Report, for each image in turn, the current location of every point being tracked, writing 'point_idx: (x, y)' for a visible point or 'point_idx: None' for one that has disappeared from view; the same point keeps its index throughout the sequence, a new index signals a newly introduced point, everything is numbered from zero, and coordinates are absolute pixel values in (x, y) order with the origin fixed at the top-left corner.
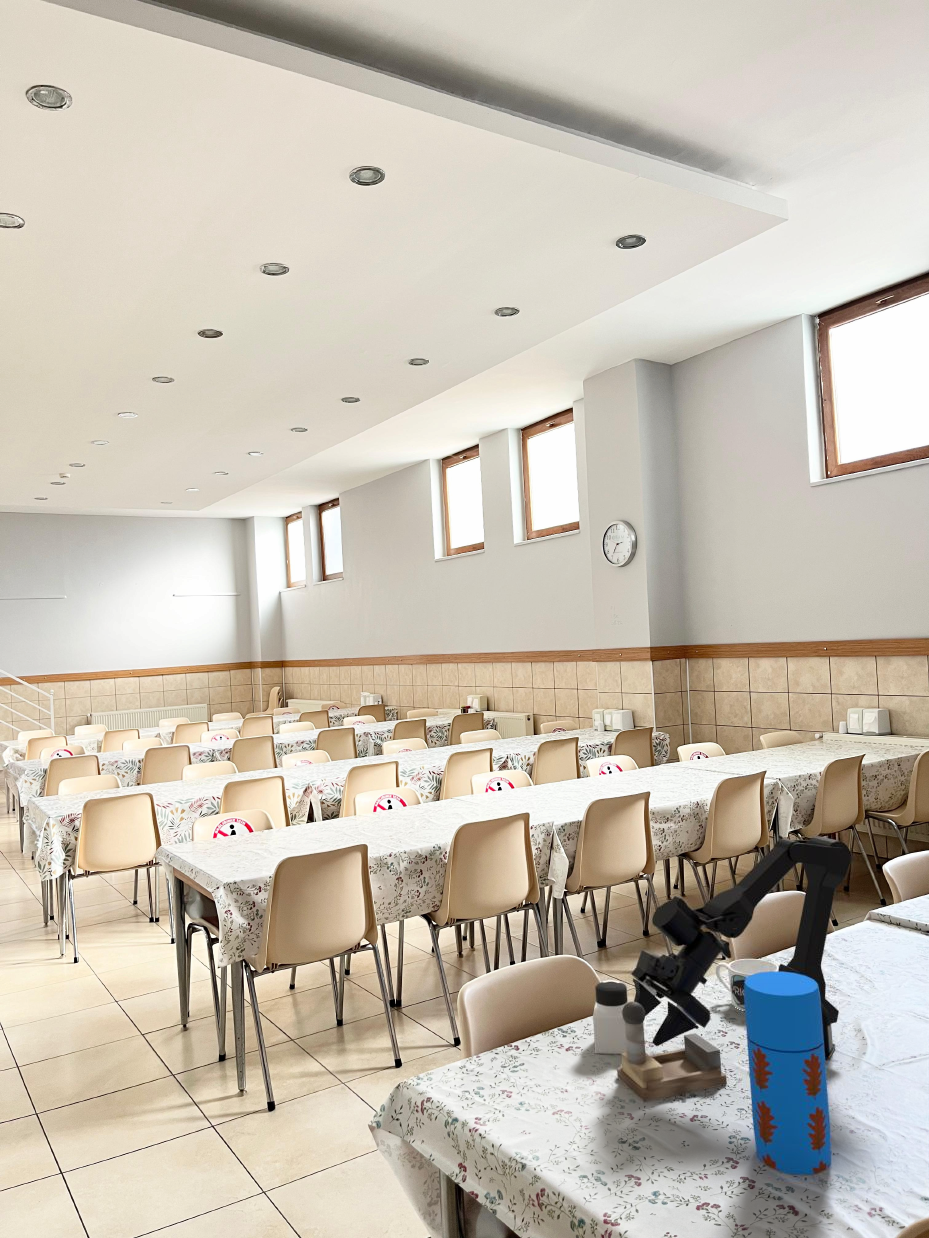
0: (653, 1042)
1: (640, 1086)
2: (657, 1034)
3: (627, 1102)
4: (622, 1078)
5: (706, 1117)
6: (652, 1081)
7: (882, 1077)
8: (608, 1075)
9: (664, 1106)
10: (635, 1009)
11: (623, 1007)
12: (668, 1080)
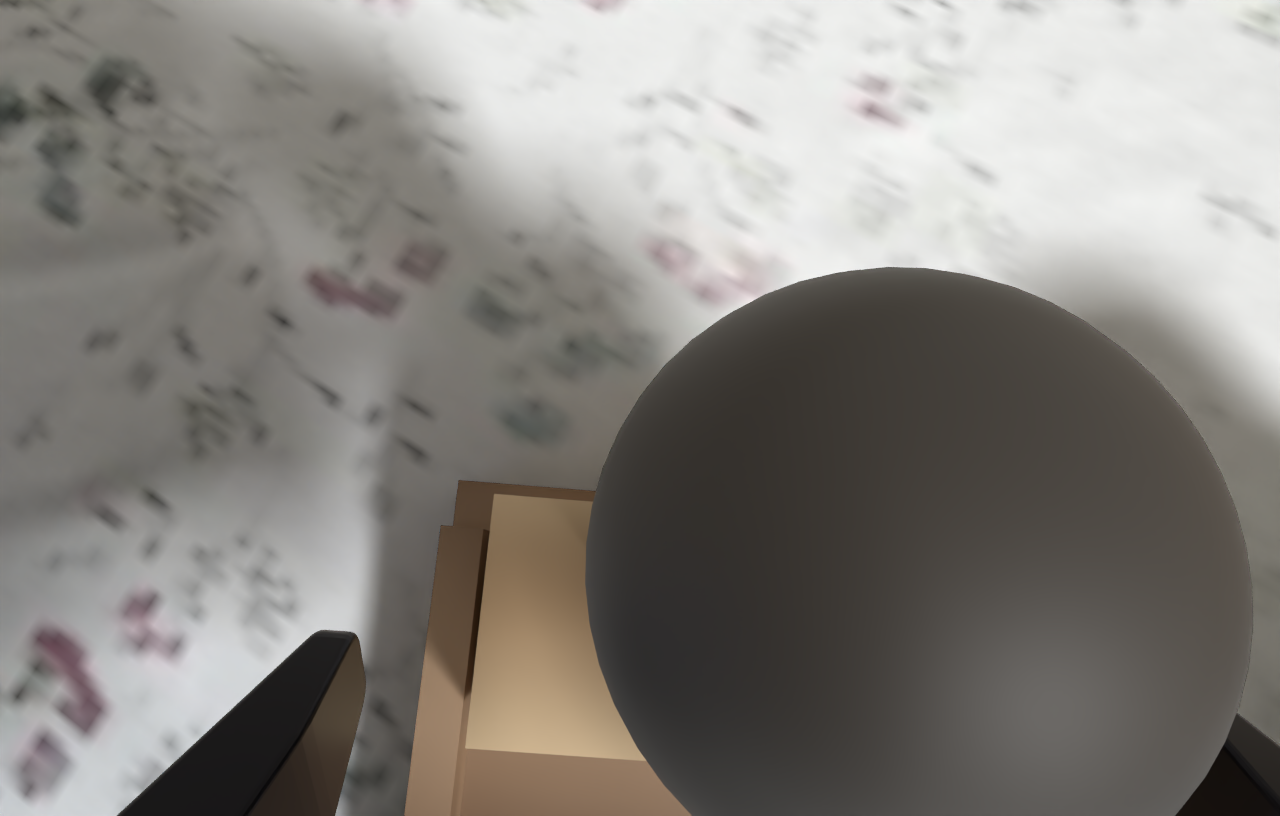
0: (319, 634)
1: None
2: (241, 738)
3: (528, 377)
4: None
5: (13, 774)
6: (469, 586)
7: None
8: None
9: (335, 582)
10: (684, 478)
11: (1086, 327)
12: (417, 737)
